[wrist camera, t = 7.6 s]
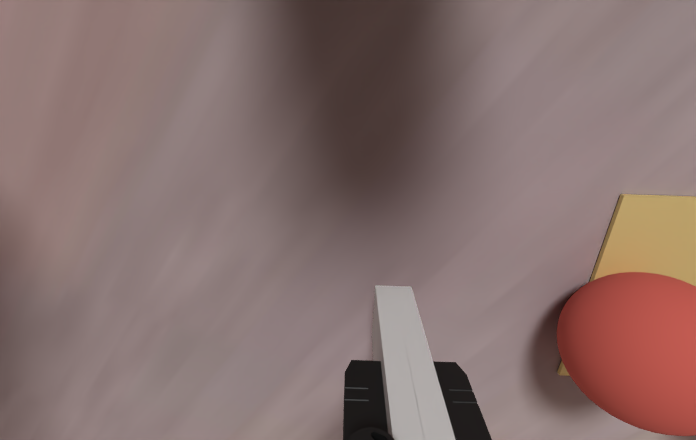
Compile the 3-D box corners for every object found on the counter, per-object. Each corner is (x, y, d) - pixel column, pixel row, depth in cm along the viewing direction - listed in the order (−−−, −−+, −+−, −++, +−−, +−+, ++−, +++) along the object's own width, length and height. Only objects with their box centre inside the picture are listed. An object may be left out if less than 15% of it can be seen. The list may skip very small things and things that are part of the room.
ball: (692, 387, 16) (547, 330, 19) (766, 278, 13) (585, 233, 16) (730, 514, 11) (530, 411, 14) (855, 384, 9) (579, 293, 12)
